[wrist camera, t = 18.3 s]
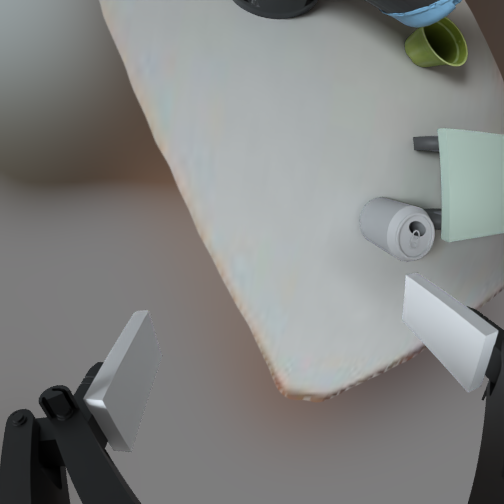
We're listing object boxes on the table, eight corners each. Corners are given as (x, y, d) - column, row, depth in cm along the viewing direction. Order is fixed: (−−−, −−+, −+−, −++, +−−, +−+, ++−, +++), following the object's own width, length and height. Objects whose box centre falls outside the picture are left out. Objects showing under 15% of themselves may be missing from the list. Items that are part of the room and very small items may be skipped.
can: (404, 206, 46) (446, 220, 34) (388, 248, 48) (426, 272, 36) (367, 189, 45) (405, 198, 33) (350, 233, 47) (383, 255, 35)
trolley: (404, 132, 42) (507, 122, 20) (478, 136, 43) (572, 139, 21) (409, 228, 47) (505, 273, 25) (480, 219, 47) (568, 252, 25)
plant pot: (436, 37, 37) (463, 24, 29) (441, 82, 40) (471, 73, 32) (393, 23, 37) (418, 4, 29) (398, 69, 39) (425, 55, 31)
